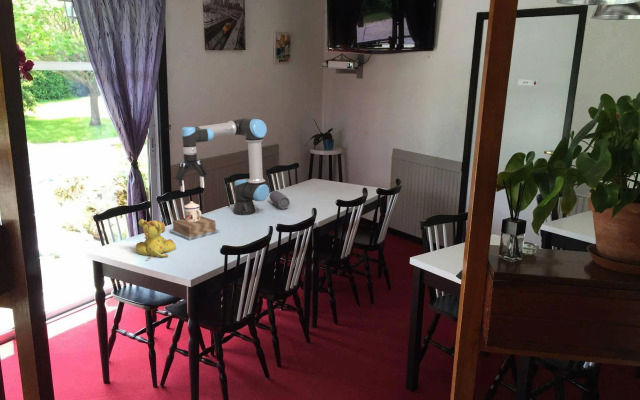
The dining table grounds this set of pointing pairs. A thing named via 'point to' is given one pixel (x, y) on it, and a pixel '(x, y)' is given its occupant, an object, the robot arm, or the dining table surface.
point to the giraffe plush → (154, 240)
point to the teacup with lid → (192, 212)
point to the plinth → (194, 228)
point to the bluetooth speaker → (279, 199)
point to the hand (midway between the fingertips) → (192, 189)
